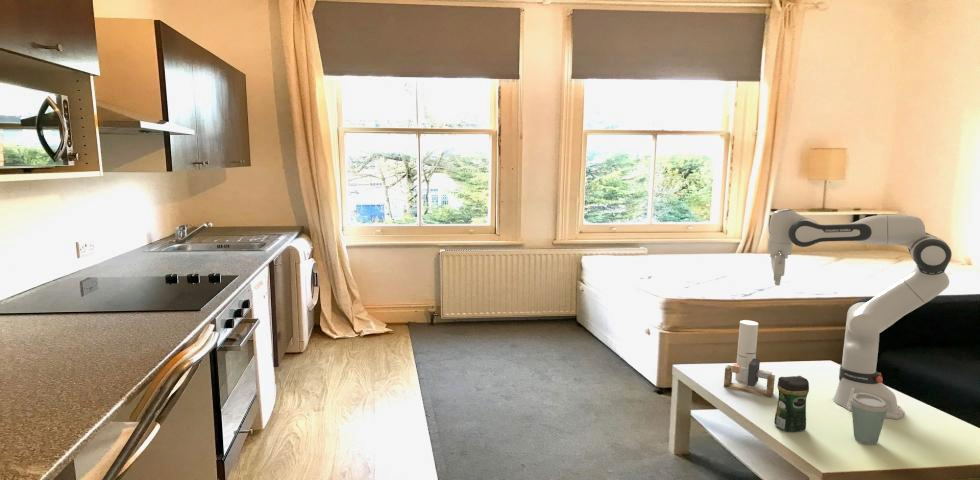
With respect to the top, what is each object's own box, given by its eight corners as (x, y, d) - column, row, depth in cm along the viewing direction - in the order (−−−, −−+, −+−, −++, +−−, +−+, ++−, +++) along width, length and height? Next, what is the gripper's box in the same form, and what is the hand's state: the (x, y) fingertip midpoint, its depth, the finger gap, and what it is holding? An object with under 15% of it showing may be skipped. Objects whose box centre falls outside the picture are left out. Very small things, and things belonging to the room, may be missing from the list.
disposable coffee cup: (891, 446, 188) (897, 403, 186) (866, 450, 185) (871, 406, 183) (862, 431, 198) (867, 390, 196) (838, 435, 195) (842, 393, 193)
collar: (758, 380, 233) (760, 359, 232) (753, 386, 227) (755, 365, 225) (751, 379, 235) (753, 358, 233) (747, 385, 228) (749, 363, 227)
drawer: (773, 394, 228) (774, 375, 227) (771, 397, 225) (773, 378, 224) (726, 383, 239) (727, 365, 238) (723, 386, 236) (725, 367, 234)
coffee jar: (793, 421, 205) (798, 372, 202) (809, 431, 197) (814, 380, 194) (769, 423, 203) (774, 373, 201) (784, 433, 195) (789, 382, 193)
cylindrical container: (755, 383, 240) (760, 325, 236) (737, 381, 241) (742, 324, 238) (751, 376, 247) (756, 320, 243) (733, 375, 248) (738, 319, 245)
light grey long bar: (771, 378, 228) (772, 371, 227) (770, 380, 225) (770, 373, 225) (729, 369, 237) (730, 362, 236) (727, 371, 235) (728, 364, 234)
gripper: (790, 253, 218) (787, 288, 220) (786, 246, 237) (783, 279, 239) (771, 252, 221) (768, 287, 223) (769, 245, 239) (767, 277, 241)
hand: (776, 282), depth 231 cm, fingers open, 8 cm apart
